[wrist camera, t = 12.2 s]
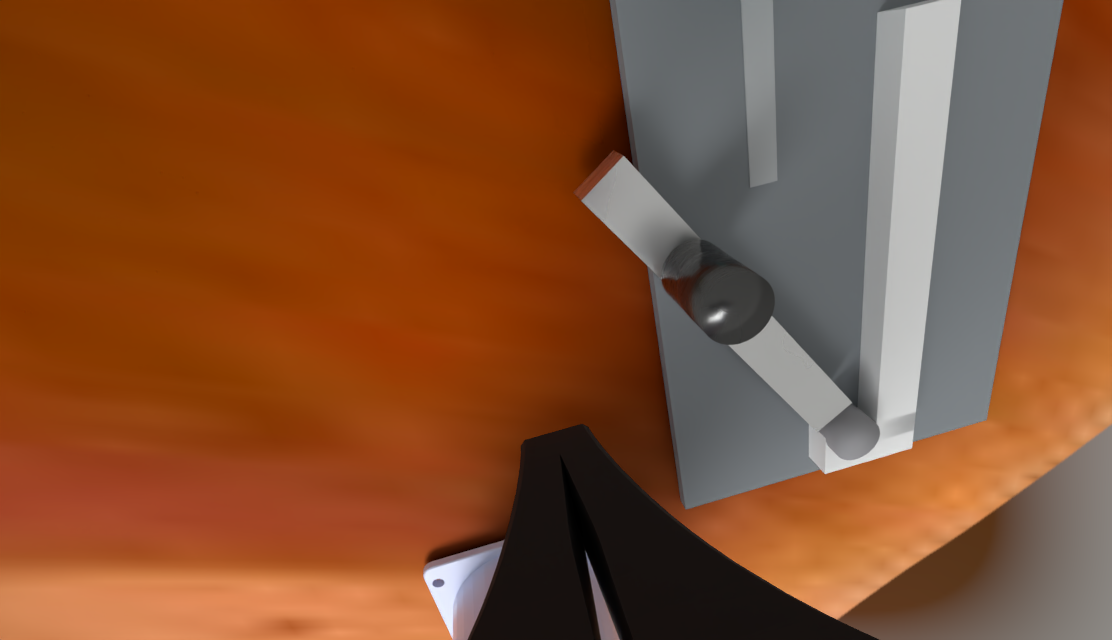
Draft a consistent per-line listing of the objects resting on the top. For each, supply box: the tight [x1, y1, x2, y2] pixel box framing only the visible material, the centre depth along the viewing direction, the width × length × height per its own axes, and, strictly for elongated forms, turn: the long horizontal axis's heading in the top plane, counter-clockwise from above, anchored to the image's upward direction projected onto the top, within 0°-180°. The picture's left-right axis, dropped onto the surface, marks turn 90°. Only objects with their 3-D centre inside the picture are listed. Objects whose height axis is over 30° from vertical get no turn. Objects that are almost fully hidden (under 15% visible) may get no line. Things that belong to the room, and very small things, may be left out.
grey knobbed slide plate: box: [610, 0, 1063, 509], centre depth 19 cm, size 25×15×2 cm, turn 12°
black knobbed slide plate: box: [573, 151, 852, 432], centre depth 18 cm, size 14×2×4 cm, turn 46°
